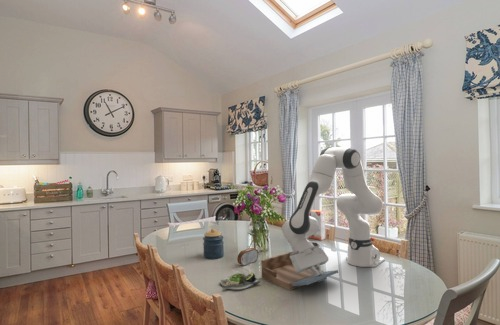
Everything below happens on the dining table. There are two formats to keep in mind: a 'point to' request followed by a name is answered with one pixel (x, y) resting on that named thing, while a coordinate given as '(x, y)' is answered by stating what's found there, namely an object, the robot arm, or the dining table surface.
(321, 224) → the cracker box
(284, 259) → the wooden tray box
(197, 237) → the dining table surface
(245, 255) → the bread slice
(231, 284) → the salad plate
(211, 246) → the canister
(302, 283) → the panel
